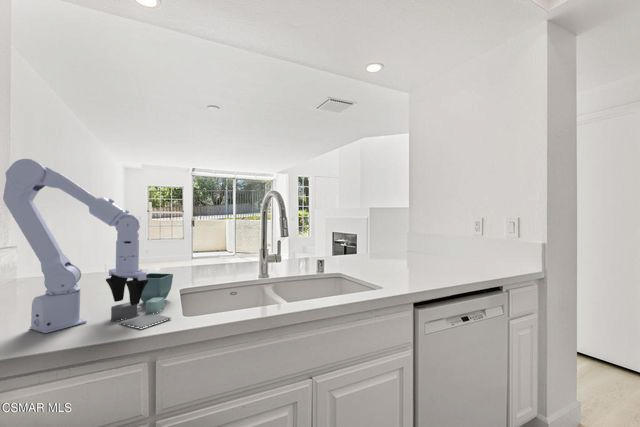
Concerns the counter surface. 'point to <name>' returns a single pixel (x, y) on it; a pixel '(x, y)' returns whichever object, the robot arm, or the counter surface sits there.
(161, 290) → the flower pot
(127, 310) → the white-capped grey post
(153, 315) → the coaster
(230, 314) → the counter surface
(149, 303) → the teal plug
